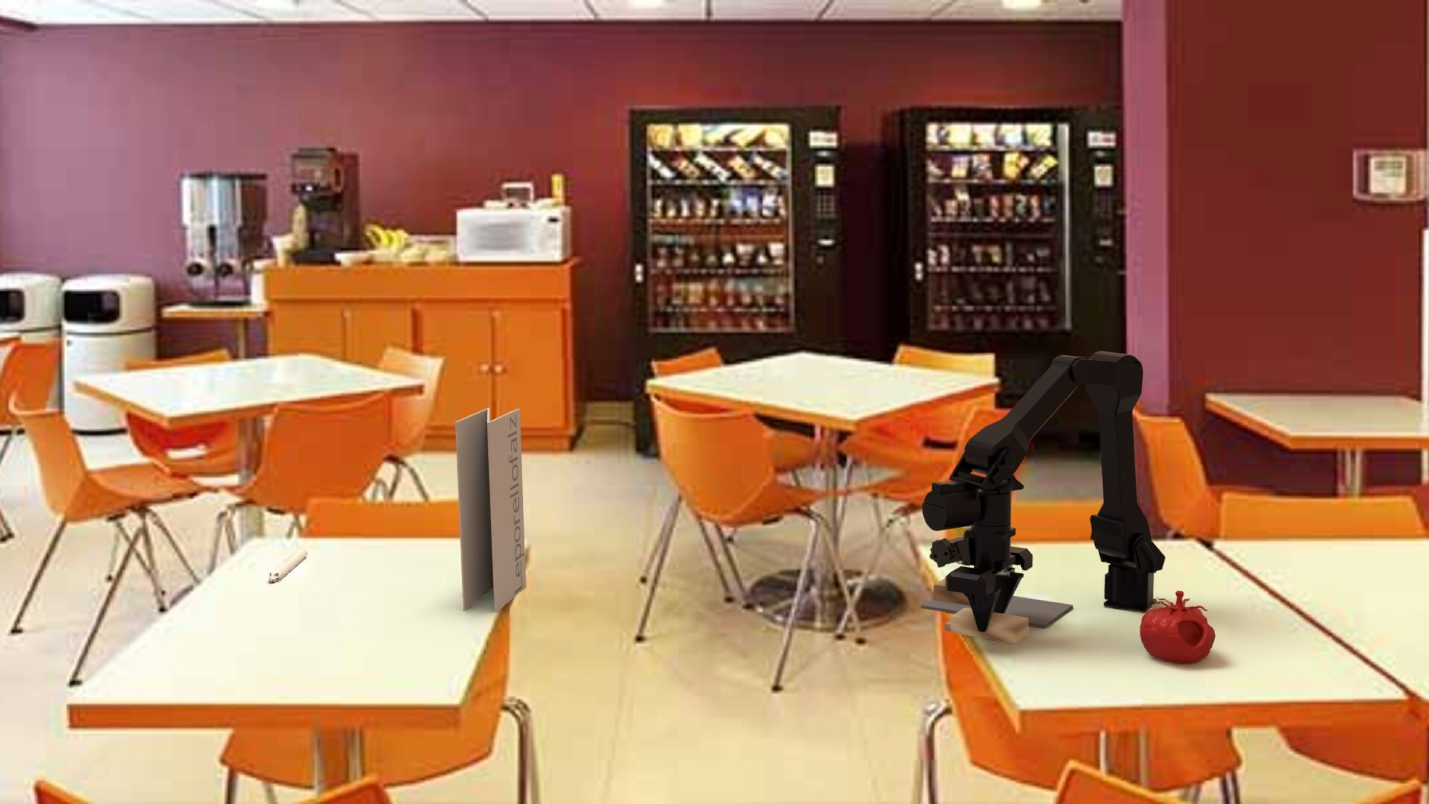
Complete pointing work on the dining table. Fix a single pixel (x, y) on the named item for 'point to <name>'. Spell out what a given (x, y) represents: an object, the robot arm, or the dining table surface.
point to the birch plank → (989, 626)
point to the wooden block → (948, 594)
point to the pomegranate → (1177, 632)
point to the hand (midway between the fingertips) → (989, 626)
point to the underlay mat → (1015, 609)
